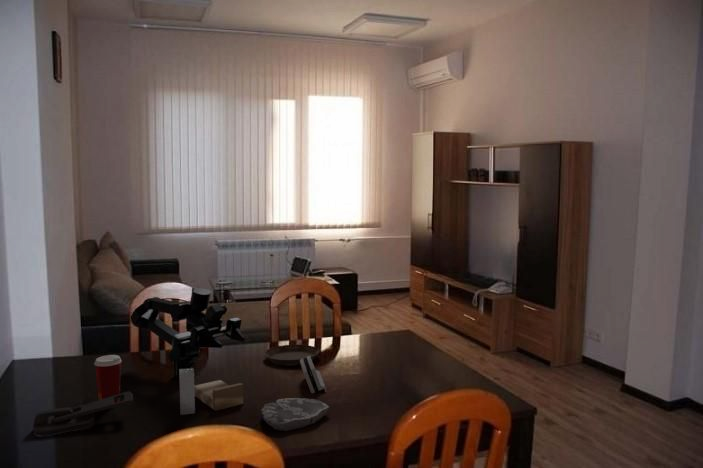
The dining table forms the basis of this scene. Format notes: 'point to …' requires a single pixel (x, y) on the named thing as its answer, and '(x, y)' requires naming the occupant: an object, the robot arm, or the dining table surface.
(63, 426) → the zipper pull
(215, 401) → the block
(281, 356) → the plant saucer
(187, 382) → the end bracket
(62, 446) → the dining table surface
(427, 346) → the dining table surface
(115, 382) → the paper cup
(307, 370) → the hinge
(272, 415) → the brain slice
